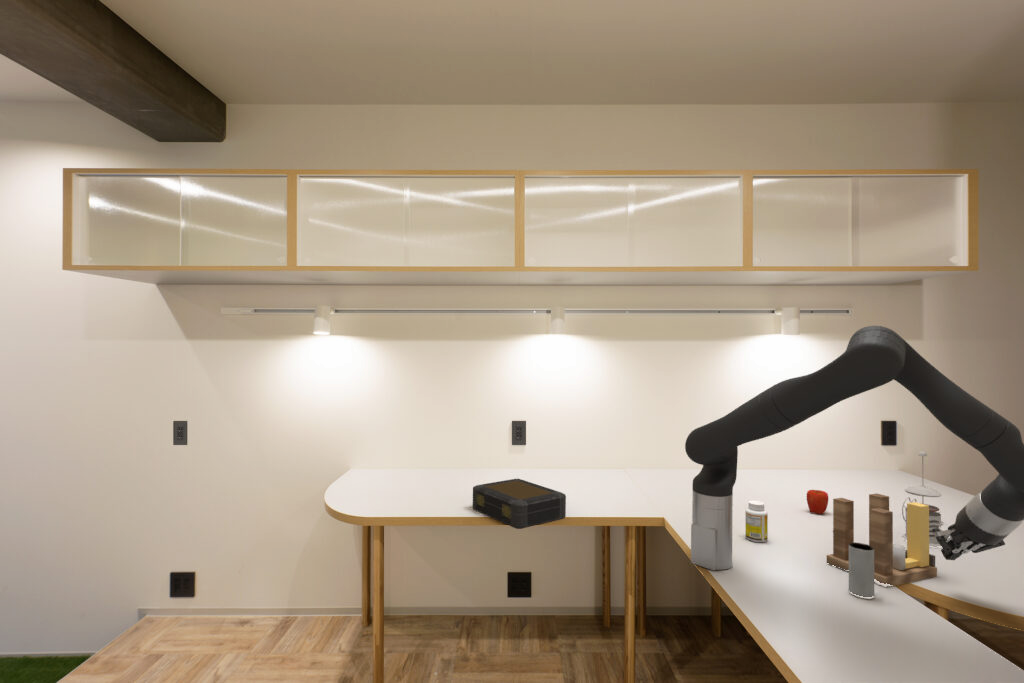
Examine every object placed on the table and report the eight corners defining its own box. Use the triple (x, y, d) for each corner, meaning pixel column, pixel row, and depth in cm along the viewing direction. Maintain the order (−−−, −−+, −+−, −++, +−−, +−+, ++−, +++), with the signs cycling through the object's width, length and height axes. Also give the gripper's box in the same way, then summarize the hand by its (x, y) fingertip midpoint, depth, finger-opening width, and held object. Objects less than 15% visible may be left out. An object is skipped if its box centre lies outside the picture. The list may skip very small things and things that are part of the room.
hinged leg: (902, 571, 117) (902, 509, 117) (888, 566, 120) (888, 505, 120) (929, 565, 121) (929, 505, 121) (915, 560, 123) (915, 502, 124)
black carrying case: (569, 518, 159) (569, 493, 160) (517, 531, 147) (518, 504, 147) (519, 499, 179) (519, 477, 179) (470, 509, 167) (470, 485, 167)
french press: (955, 546, 140) (954, 454, 140) (924, 550, 136) (923, 455, 137) (917, 534, 149) (917, 447, 150) (887, 537, 146) (887, 449, 147)
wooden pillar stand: (885, 587, 113) (885, 514, 114) (826, 563, 126) (826, 498, 127) (937, 576, 120) (937, 507, 121) (876, 554, 133) (876, 492, 134)
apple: (817, 516, 164) (817, 493, 164) (801, 511, 170) (801, 488, 170) (833, 515, 166) (833, 492, 166) (817, 509, 172) (817, 487, 172)
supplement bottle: (760, 536, 145) (760, 499, 146) (771, 543, 140) (772, 505, 140) (741, 536, 145) (741, 499, 145) (752, 543, 139) (752, 505, 140)
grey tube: (851, 597, 109) (851, 548, 109) (846, 588, 113) (846, 541, 113) (877, 601, 107) (877, 551, 107) (870, 591, 111) (870, 544, 112)
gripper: (962, 532, 98) (921, 570, 110) (1040, 537, 96) (991, 575, 108) (943, 497, 104) (906, 537, 116) (1017, 500, 102) (972, 541, 114)
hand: (947, 555), depth 112 cm, fingers closed
